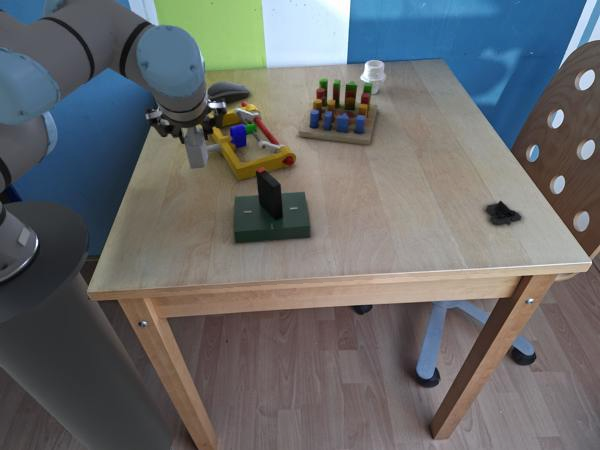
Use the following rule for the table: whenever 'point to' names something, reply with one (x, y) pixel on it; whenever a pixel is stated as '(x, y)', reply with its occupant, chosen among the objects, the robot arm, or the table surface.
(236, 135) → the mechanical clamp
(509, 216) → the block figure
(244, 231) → the green rectangular block
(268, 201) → the black bar red tab
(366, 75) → the pipe fitting
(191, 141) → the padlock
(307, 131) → the peg board
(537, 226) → the table surface
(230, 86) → the computer mouse
